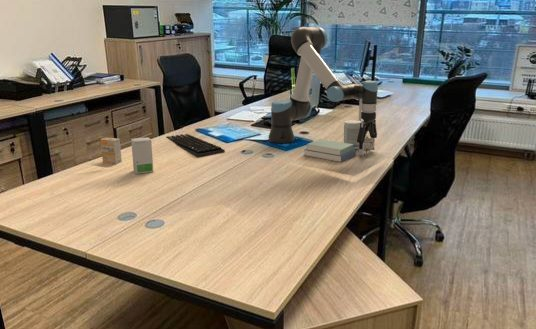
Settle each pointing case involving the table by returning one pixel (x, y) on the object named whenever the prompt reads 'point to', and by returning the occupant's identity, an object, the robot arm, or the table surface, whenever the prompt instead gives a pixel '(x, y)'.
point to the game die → (368, 144)
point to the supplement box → (111, 150)
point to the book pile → (330, 150)
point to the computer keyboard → (195, 145)
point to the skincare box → (142, 155)
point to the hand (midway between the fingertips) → (366, 152)
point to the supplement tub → (351, 132)
